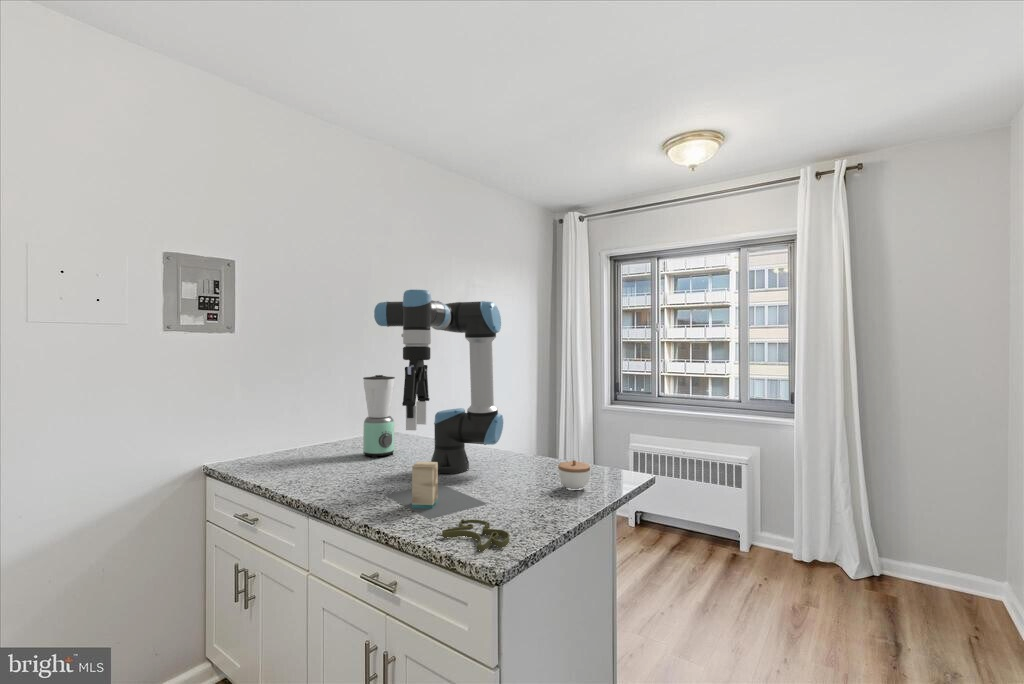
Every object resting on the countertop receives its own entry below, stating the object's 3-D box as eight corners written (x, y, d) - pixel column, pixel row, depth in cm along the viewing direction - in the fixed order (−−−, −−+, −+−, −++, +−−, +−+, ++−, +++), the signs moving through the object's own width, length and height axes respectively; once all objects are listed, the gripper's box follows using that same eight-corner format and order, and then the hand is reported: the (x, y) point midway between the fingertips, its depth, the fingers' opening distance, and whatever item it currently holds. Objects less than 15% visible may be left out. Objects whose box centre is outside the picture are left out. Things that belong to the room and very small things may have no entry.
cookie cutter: (435, 536, 122) (436, 528, 122) (469, 523, 131) (469, 516, 131) (488, 557, 111) (488, 548, 111) (520, 540, 120) (521, 532, 120)
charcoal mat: (439, 486, 165) (439, 483, 165) (488, 507, 144) (488, 503, 144) (384, 497, 152) (384, 494, 152) (429, 522, 131) (429, 519, 131)
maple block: (418, 501, 146) (418, 461, 146) (437, 502, 145) (437, 462, 145) (412, 507, 140) (412, 466, 140) (432, 508, 139) (432, 467, 139)
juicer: (402, 455, 210) (402, 375, 211) (374, 460, 201) (374, 376, 201) (380, 449, 224) (380, 373, 224) (353, 453, 215) (353, 374, 215)
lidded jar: (593, 486, 166) (593, 458, 166) (585, 494, 156) (585, 465, 156) (564, 482, 170) (564, 455, 170) (553, 490, 160) (553, 462, 160)
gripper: (415, 345, 145) (414, 420, 145) (390, 345, 123) (389, 433, 123) (439, 345, 144) (439, 421, 144) (418, 345, 123) (418, 434, 123)
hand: (416, 427), depth 134 cm, fingers open, 9 cm apart
